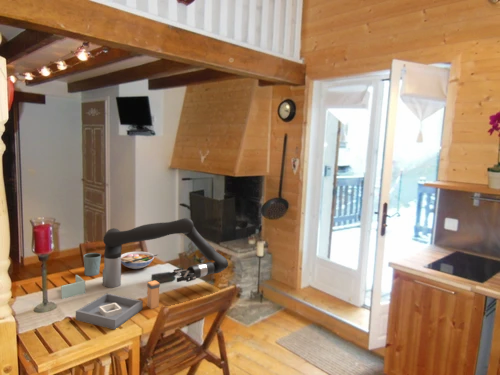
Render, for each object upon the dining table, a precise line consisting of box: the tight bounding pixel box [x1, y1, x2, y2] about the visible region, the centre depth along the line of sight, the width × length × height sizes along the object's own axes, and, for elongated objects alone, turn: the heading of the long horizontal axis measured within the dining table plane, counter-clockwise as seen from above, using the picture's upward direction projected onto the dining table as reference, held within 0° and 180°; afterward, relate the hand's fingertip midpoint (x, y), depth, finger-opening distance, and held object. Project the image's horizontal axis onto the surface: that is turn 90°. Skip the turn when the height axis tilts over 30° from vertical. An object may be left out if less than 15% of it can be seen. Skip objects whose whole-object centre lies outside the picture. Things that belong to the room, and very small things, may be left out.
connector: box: [146, 279, 161, 310], centre depth 192 cm, size 5×5×13 cm
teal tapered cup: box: [83, 252, 102, 277], centre depth 230 cm, size 10×10×12 cm
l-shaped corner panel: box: [60, 274, 86, 300], centre depth 202 cm, size 12×12×8 cm
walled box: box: [75, 292, 144, 330], centre depth 181 cm, size 22×22×4 cm
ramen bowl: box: [121, 251, 158, 270], centre depth 245 cm, size 25×23×8 cm
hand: (172, 277), depth 198 cm, fingers open, 8 cm apart
